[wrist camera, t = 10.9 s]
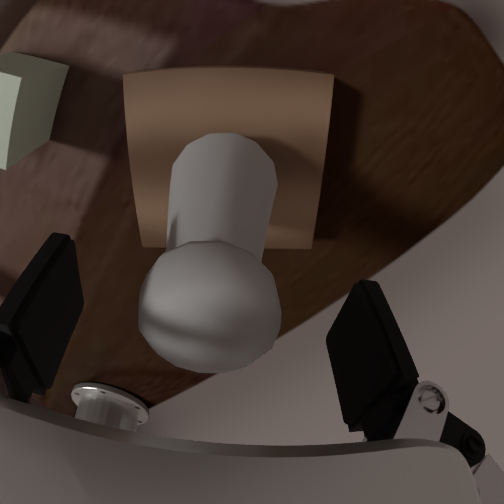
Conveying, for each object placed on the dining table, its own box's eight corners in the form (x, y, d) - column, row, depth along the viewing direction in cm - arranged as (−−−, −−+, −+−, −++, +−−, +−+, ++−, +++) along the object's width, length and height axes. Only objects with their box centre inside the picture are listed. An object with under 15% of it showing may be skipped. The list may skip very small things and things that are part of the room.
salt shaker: (275, 122, 18) (331, 261, 7) (272, 209, 21) (301, 393, 10) (173, 125, 17) (76, 263, 7) (181, 211, 21) (134, 391, 10)
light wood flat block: (304, 226, 25) (311, 248, 23) (151, 225, 25) (142, 246, 22) (322, 71, 18) (334, 75, 16) (137, 70, 18) (122, 74, 15)
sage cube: (49, 139, 20) (5, 170, 15) (-3, 120, 18) (-50, 146, 13) (69, 65, 17) (21, 77, 12) (12, 51, 15) (-40, 63, 10)
